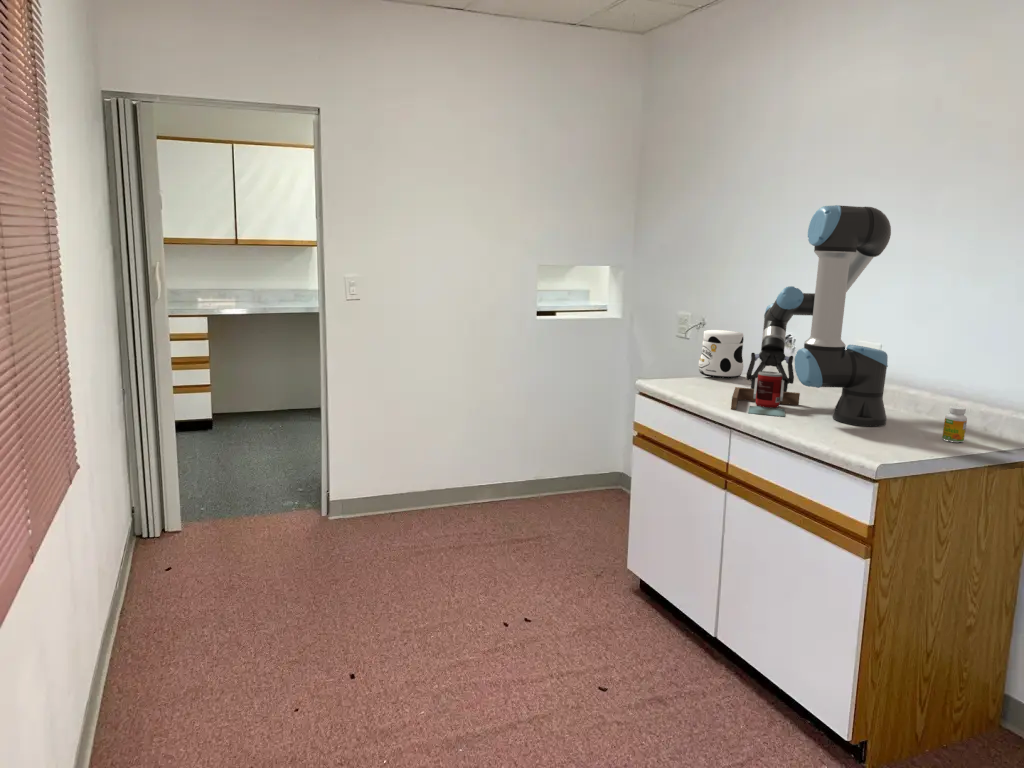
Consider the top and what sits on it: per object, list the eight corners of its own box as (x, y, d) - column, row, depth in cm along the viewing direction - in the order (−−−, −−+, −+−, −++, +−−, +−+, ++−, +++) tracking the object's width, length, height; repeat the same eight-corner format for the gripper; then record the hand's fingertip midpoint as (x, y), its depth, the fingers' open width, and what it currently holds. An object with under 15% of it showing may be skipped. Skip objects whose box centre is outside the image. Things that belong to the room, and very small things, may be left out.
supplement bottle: (939, 440, 217) (944, 407, 215) (945, 437, 220) (950, 404, 218) (960, 444, 213) (965, 410, 211) (966, 441, 216) (971, 408, 215)
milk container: (689, 375, 307) (692, 331, 303) (713, 371, 318) (717, 328, 315) (726, 382, 294) (730, 336, 291) (750, 378, 306) (754, 333, 302)
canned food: (776, 404, 258) (779, 372, 256) (781, 408, 250) (785, 375, 248) (752, 402, 259) (755, 370, 257) (758, 407, 251) (761, 373, 249)
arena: (798, 404, 259) (799, 392, 258) (799, 418, 238) (801, 406, 237) (734, 398, 265) (735, 386, 264) (730, 411, 244) (731, 399, 244)
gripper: (804, 351, 262) (800, 407, 250) (742, 347, 269) (735, 400, 257) (806, 338, 256) (802, 394, 244) (742, 333, 263) (735, 388, 251)
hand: (767, 397), depth 250 cm, fingers closed on canned food, 8 cm apart
